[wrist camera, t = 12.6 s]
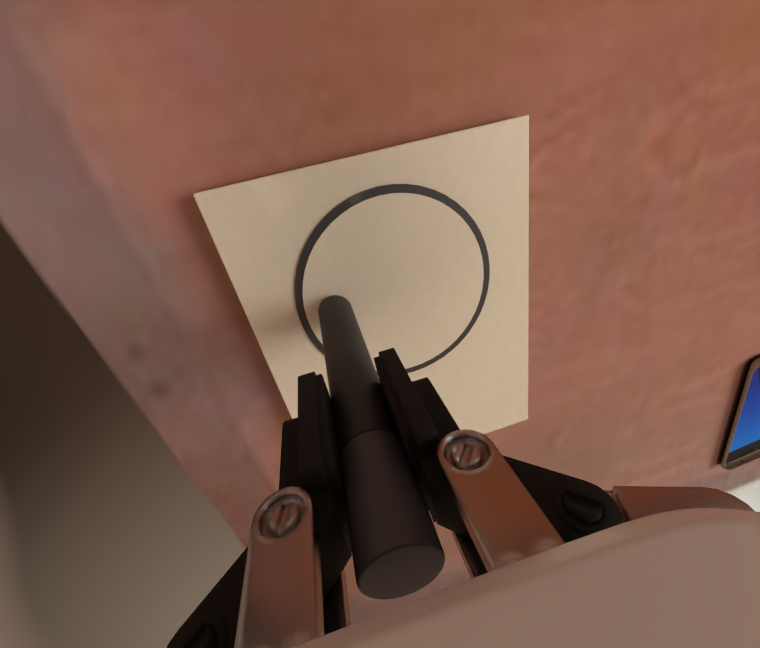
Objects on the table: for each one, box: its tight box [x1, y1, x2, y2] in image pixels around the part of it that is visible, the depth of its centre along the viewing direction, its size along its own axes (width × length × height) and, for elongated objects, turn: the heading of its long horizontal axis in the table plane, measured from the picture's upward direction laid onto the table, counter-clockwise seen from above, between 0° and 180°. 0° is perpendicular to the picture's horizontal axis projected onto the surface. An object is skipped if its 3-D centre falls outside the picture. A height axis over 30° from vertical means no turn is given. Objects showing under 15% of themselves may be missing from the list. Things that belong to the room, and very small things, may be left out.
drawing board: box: [193, 115, 529, 434], centre depth 20 cm, size 20×16×1 cm
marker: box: [318, 295, 445, 599], centre depth 12 cm, size 2×2×13 cm
